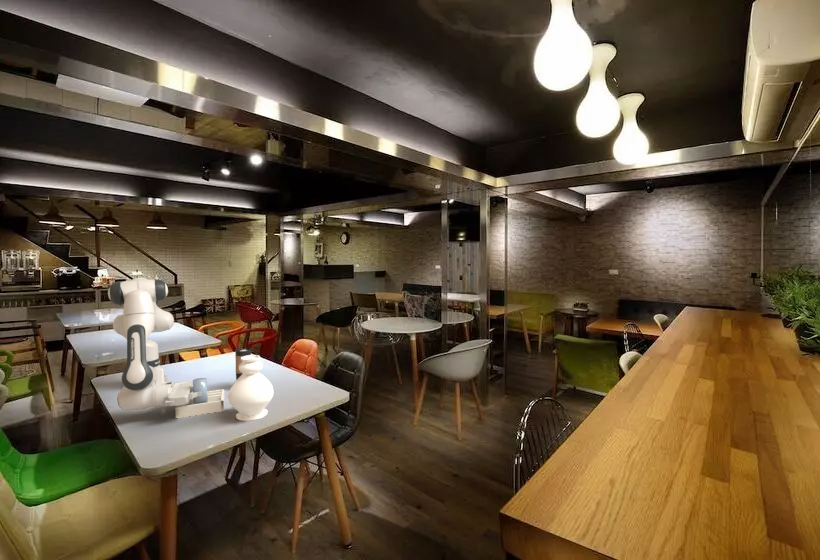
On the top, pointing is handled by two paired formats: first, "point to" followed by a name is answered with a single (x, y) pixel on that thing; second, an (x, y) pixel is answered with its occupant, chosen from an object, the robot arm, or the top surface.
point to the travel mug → (239, 354)
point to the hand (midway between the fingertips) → (202, 390)
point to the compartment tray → (202, 405)
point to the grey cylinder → (200, 385)
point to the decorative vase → (250, 390)
